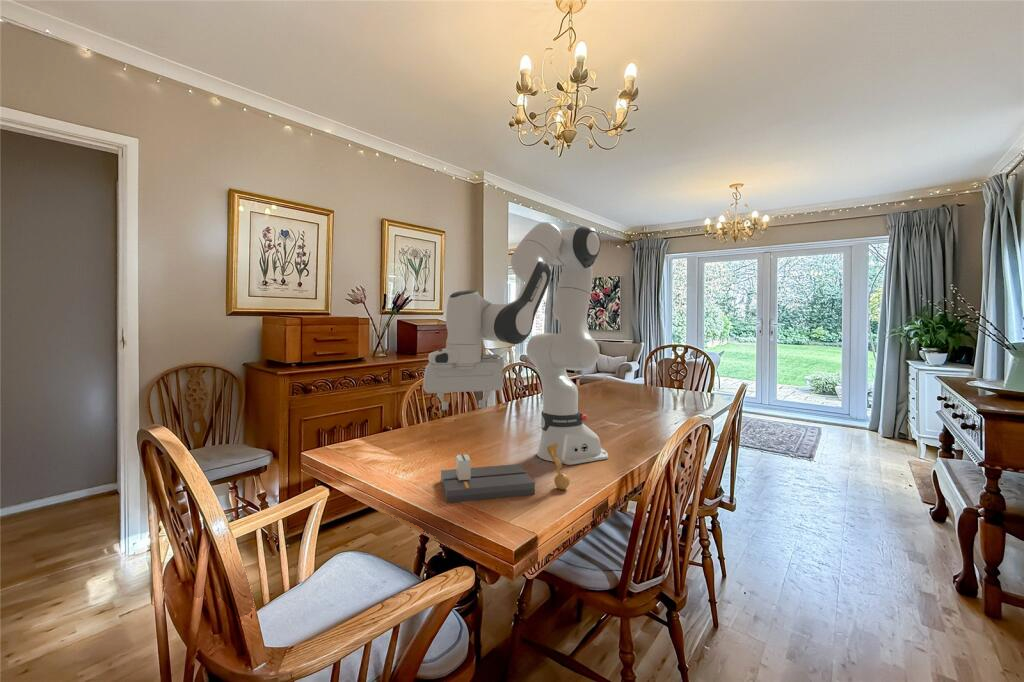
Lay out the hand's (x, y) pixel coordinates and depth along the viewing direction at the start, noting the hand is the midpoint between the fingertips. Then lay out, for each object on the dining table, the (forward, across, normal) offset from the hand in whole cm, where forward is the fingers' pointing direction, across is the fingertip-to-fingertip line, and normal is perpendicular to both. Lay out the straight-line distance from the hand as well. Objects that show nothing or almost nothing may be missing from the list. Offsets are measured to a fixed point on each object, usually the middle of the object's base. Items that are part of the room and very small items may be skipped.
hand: (463, 408), depth 113 cm
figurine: (+21, -24, +5) cm, 32 cm away
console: (+21, -6, 0) cm, 22 cm away
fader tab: (+19, 0, 0) cm, 19 cm away
